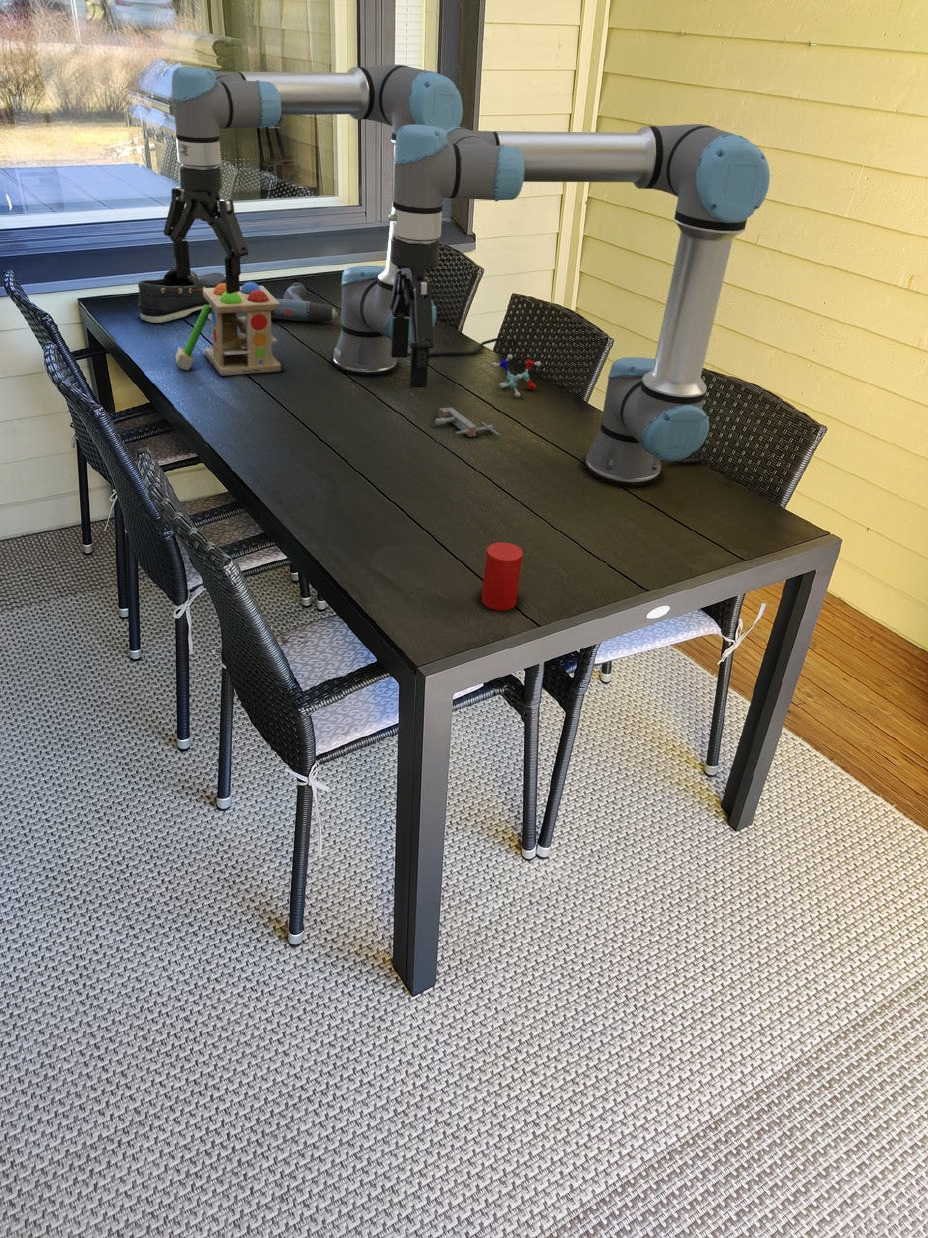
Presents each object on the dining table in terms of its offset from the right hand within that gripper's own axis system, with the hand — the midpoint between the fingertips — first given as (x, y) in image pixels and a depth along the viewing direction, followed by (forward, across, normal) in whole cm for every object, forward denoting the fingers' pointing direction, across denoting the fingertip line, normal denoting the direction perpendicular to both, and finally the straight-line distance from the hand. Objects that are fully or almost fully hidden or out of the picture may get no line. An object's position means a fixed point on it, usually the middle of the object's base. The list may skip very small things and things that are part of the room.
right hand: (408, 371), depth 163 cm
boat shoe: (+27, -120, -32) cm, 127 cm away
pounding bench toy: (+27, -76, -25) cm, 84 cm away
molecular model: (+27, -56, +40) cm, 74 cm away
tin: (+27, +30, +9) cm, 41 cm away
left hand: (-1, -46, -29) cm, 54 cm away
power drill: (+27, -115, 0) cm, 118 cm away
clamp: (+27, -35, +22) cm, 49 cm away
